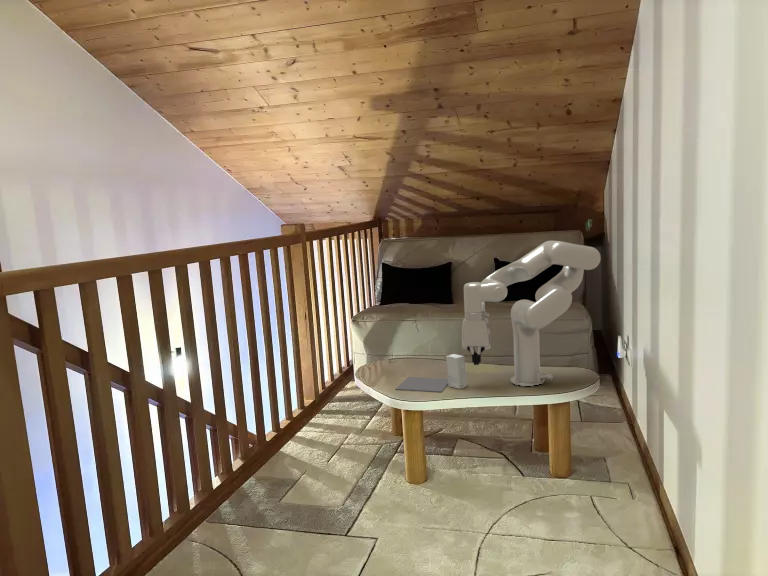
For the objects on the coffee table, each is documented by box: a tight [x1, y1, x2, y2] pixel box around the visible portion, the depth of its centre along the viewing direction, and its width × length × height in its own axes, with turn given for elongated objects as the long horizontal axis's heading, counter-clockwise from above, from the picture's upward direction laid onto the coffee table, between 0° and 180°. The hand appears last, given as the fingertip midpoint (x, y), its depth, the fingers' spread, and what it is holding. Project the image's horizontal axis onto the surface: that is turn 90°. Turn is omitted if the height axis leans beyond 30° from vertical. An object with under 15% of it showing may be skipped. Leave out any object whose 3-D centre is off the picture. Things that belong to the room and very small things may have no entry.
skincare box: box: [445, 353, 468, 390], centre depth 219 cm, size 6×4×12 cm
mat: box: [395, 376, 449, 393], centre depth 225 cm, size 18×16×1 cm
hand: (476, 364), depth 216 cm, fingers closed
